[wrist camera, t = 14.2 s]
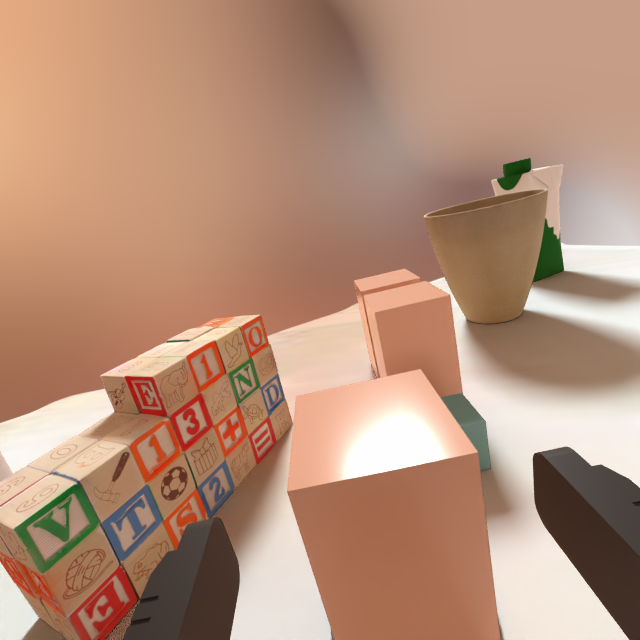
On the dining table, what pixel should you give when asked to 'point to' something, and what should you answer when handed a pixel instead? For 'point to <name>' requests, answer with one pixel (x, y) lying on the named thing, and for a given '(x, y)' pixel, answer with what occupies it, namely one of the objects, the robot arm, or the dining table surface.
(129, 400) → the stack of blocks
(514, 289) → the plant pot
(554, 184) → the milk carton
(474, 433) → the green cube
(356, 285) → the peach rectangular block
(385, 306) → the salmon rectangular block
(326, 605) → the salmon pink rectangular block
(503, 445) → the dining table surface
